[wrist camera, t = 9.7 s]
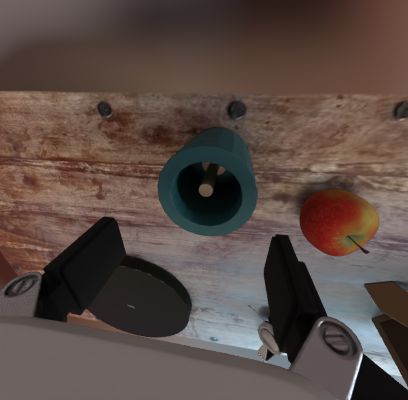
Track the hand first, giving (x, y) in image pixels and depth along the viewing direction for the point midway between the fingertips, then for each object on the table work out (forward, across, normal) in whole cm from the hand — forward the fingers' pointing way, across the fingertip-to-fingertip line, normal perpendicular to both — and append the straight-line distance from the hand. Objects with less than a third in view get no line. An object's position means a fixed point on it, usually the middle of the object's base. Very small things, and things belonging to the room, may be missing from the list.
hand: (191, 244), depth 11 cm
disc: (+18, +20, +38) cm, 47 cm away
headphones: (+18, -14, +36) cm, 43 cm away
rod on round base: (+18, 0, 0) cm, 18 cm away
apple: (+18, -16, +6) cm, 25 cm away
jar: (+18, 0, 0) cm, 18 cm away
